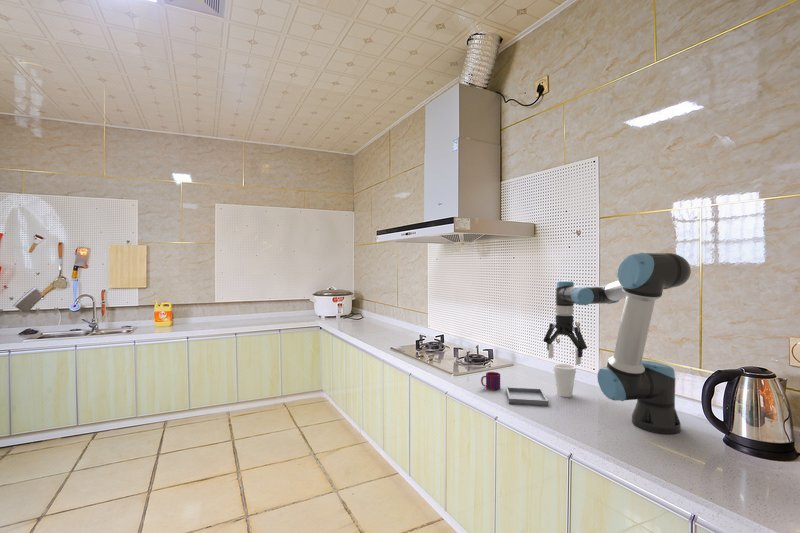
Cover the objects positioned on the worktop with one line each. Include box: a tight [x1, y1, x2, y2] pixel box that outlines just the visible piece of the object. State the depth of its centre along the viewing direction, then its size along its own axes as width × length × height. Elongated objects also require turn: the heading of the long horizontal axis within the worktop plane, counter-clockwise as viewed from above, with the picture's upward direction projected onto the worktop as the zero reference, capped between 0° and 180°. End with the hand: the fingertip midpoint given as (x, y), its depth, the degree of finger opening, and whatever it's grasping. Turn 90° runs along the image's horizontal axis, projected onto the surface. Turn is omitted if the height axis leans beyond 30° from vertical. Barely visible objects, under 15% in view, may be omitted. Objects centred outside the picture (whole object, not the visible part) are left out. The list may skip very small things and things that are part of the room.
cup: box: [480, 371, 501, 391], centre depth 188 cm, size 7×10×7 cm
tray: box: [505, 386, 549, 407], centre depth 173 cm, size 16×16×2 cm
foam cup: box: [553, 363, 577, 398], centre depth 178 cm, size 10×9×13 cm
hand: (564, 360), depth 178 cm, fingers open, 13 cm apart
